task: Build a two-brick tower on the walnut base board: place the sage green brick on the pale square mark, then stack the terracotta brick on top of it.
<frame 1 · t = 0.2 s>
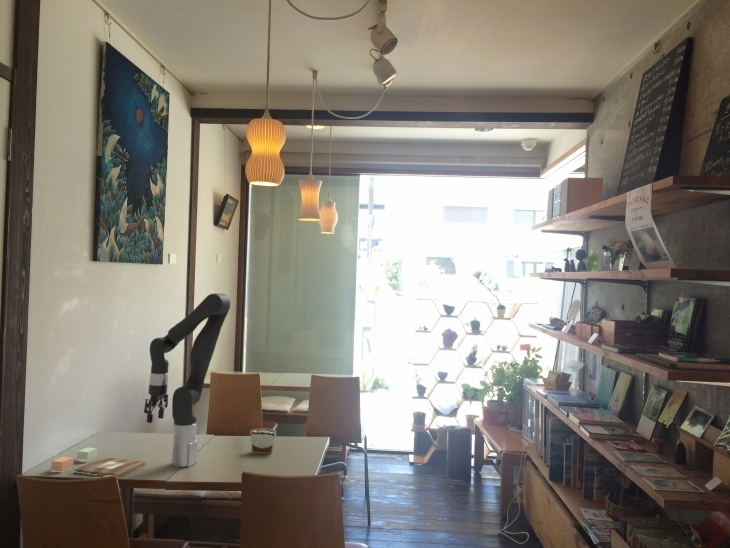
hand: (155, 420, 230), 17 cm above the table, tool pointing down, fingers open, 8 cm apart
base board: (110, 469, 217), on the table
food container: (263, 451, 248), on the table
terracotta brick: (62, 470, 214), on the table
sage green brick: (87, 460, 227), on the table
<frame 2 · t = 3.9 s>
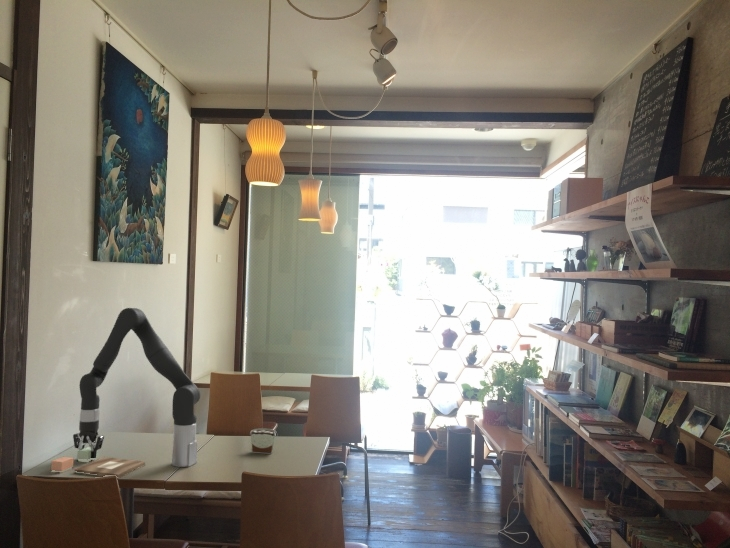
hand: (87, 458, 227), 0 cm above the table, tool pointing down, fingers closed on sage green brick, 5 cm apart
sage green brick: (87, 460, 227), on the table, touching gripper
everything else where it was.
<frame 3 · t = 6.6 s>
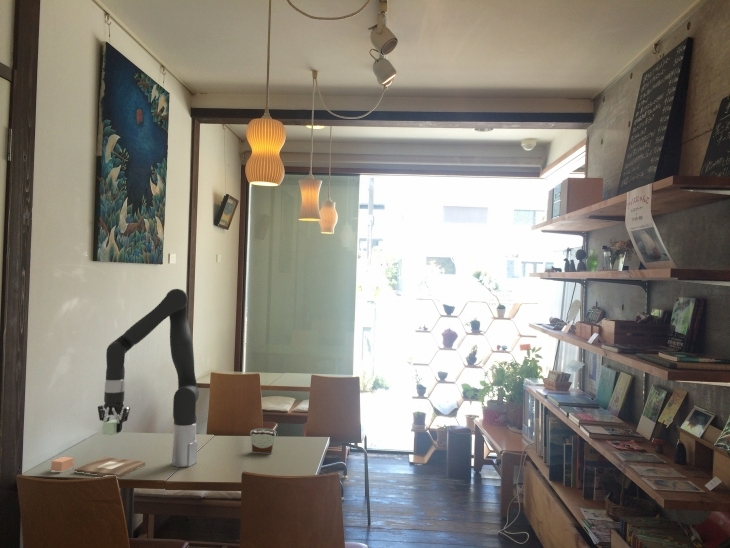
hand: (112, 431, 218), 15 cm above the table, tool pointing down, fingers closed on sage green brick, 5 cm apart
sage green brick: (112, 432, 218), point 15 cm above the table, touching gripper
everything else where it was.
when the fingers open (4 cm above the table, at t = 9.3 s): sage green brick drops 2 cm, resting on base board.
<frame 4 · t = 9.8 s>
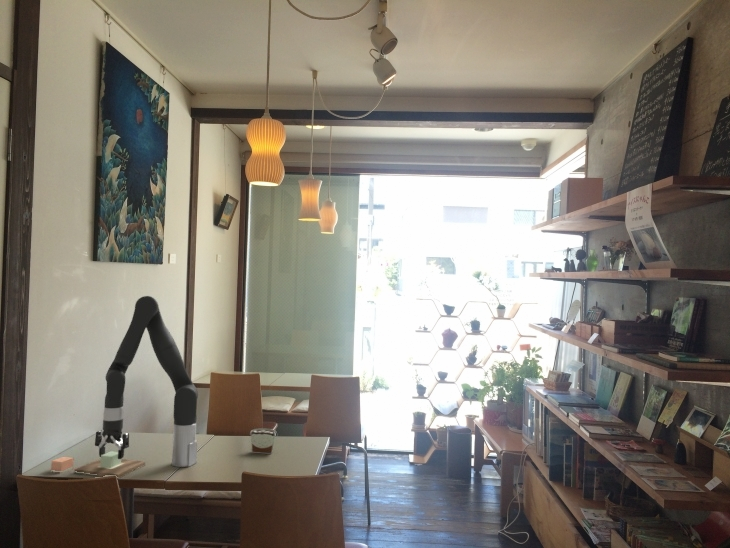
hand: (111, 457, 217), 5 cm above the table, tool pointing down, fingers open, 8 cm apart
sage green brick: (110, 465, 217), point 2 cm above the table, touching base board
everything else where it was.
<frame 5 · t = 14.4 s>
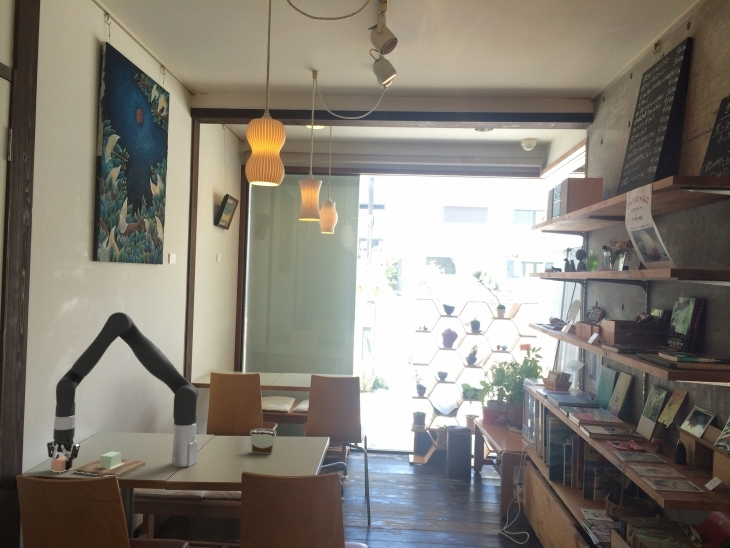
hand: (62, 468, 214), 1 cm above the table, tool pointing down, fingers closed on terracotta brick, 5 cm apart
terracotta brick: (62, 470, 214), on the table, touching gripper
everything else where it was.
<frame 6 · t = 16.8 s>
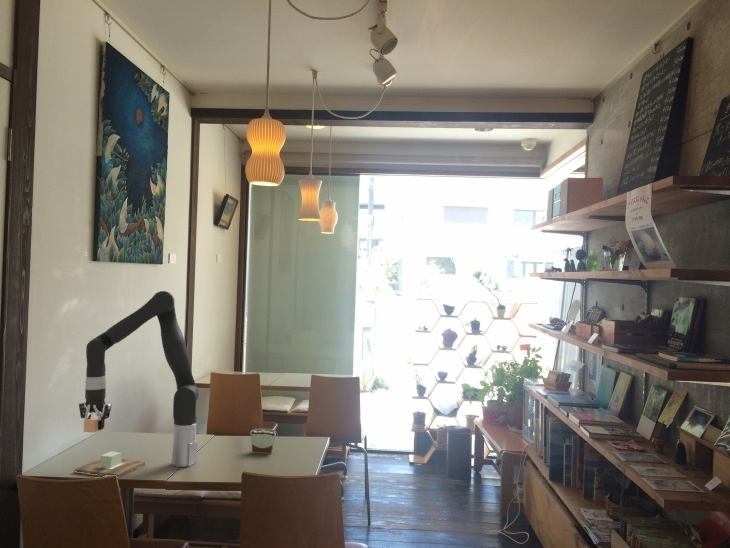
hand: (94, 428, 216), 16 cm above the table, tool pointing down, fingers closed on terracotta brick, 5 cm apart
terracotta brick: (94, 430, 216), point 16 cm above the table, touching gripper
everything else where it was.
when the fingers open (8 cm above the table, at t = 19.6 s): terracotta brick drops 1 cm, resting on sage green brick.
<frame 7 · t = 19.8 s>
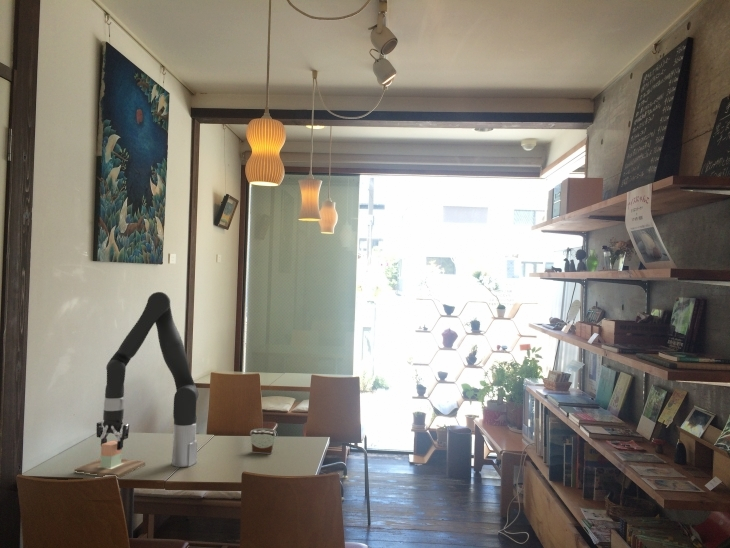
hand: (111, 448, 217), 8 cm above the table, tool pointing down, fingers open, 6 cm apart
terracotta brick: (111, 454, 217), point 6 cm above the table, touching sage green brick
sage green brick: (110, 465, 217), point 2 cm above the table, touching base board, terracotta brick
everything else where it was.
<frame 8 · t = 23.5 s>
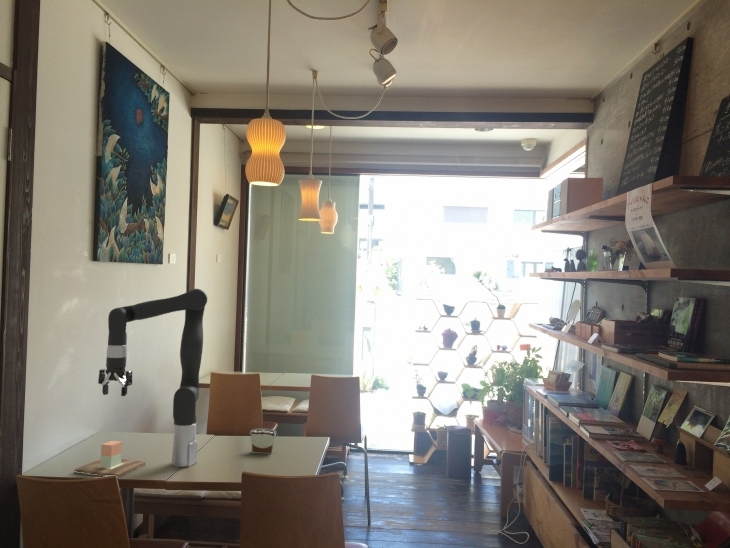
hand: (114, 395, 218), 30 cm above the table, tool pointing down, fingers open, 8 cm apart
nothing on the table moved.
at the end: sage green brick 0.0 cm off-centre on the base board, point 1.6 cm above the base board's base; terracotta brick 0.0 cm off-centre on the sage green brick, point 4.5 cm above the sage green brick's base; terracotta brick tilted 0° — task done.
